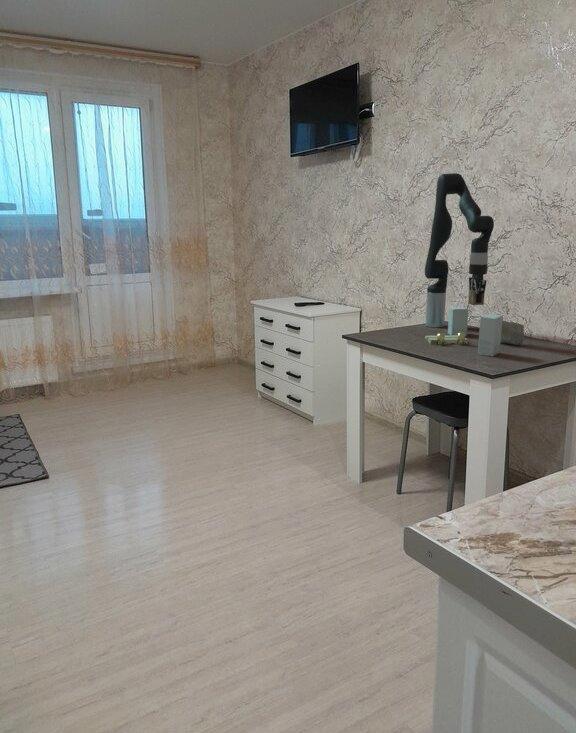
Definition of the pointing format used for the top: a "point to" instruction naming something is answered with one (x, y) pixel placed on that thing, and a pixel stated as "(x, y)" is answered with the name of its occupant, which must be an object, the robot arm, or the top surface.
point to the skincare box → (490, 334)
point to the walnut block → (474, 298)
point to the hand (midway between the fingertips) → (476, 301)
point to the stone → (512, 333)
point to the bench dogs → (442, 336)
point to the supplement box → (457, 320)
